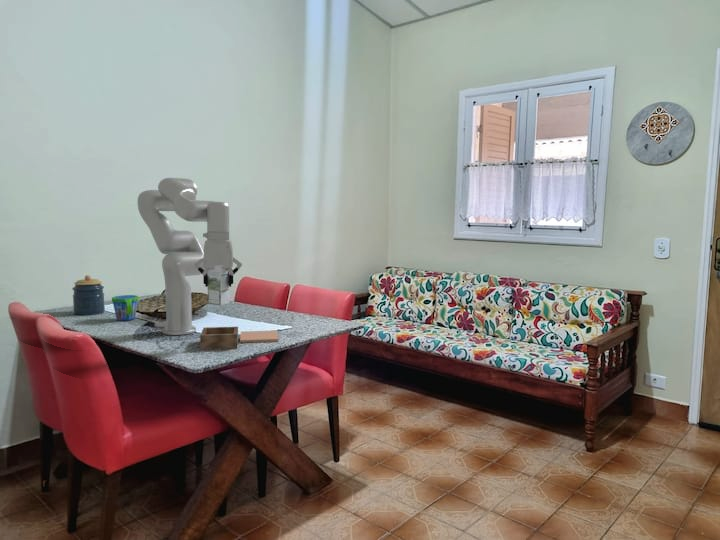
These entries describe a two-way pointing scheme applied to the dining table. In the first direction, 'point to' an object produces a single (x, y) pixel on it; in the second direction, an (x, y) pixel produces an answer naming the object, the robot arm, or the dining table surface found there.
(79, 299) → the canister
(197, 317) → the dining table surface
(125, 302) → the snack cup
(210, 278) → the syrup box
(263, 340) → the tile
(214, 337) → the collar
